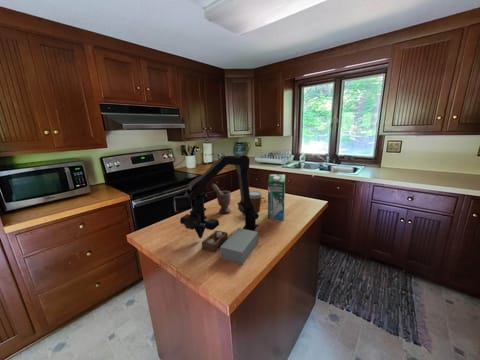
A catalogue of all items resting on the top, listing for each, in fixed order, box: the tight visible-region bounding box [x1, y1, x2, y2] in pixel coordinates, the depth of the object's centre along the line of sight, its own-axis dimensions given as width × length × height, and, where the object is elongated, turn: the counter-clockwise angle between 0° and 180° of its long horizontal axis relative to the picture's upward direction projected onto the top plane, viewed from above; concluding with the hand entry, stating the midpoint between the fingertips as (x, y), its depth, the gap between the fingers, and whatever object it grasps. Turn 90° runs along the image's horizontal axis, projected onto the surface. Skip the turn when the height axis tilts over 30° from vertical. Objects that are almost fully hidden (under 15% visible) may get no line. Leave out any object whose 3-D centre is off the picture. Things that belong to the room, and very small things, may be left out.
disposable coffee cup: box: [249, 190, 263, 214], centre depth 131 cm, size 10×10×12 cm
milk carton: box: [267, 173, 286, 221], centre depth 121 cm, size 9×9×25 cm
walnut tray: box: [201, 230, 229, 253], centre depth 96 cm, size 12×6×4 cm, turn 155°
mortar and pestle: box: [211, 183, 232, 215], centre depth 129 cm, size 12×9×20 cm
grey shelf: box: [219, 227, 259, 266], centre depth 90 cm, size 17×10×6 cm, turn 155°
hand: (200, 237), depth 100 cm, fingers closed
